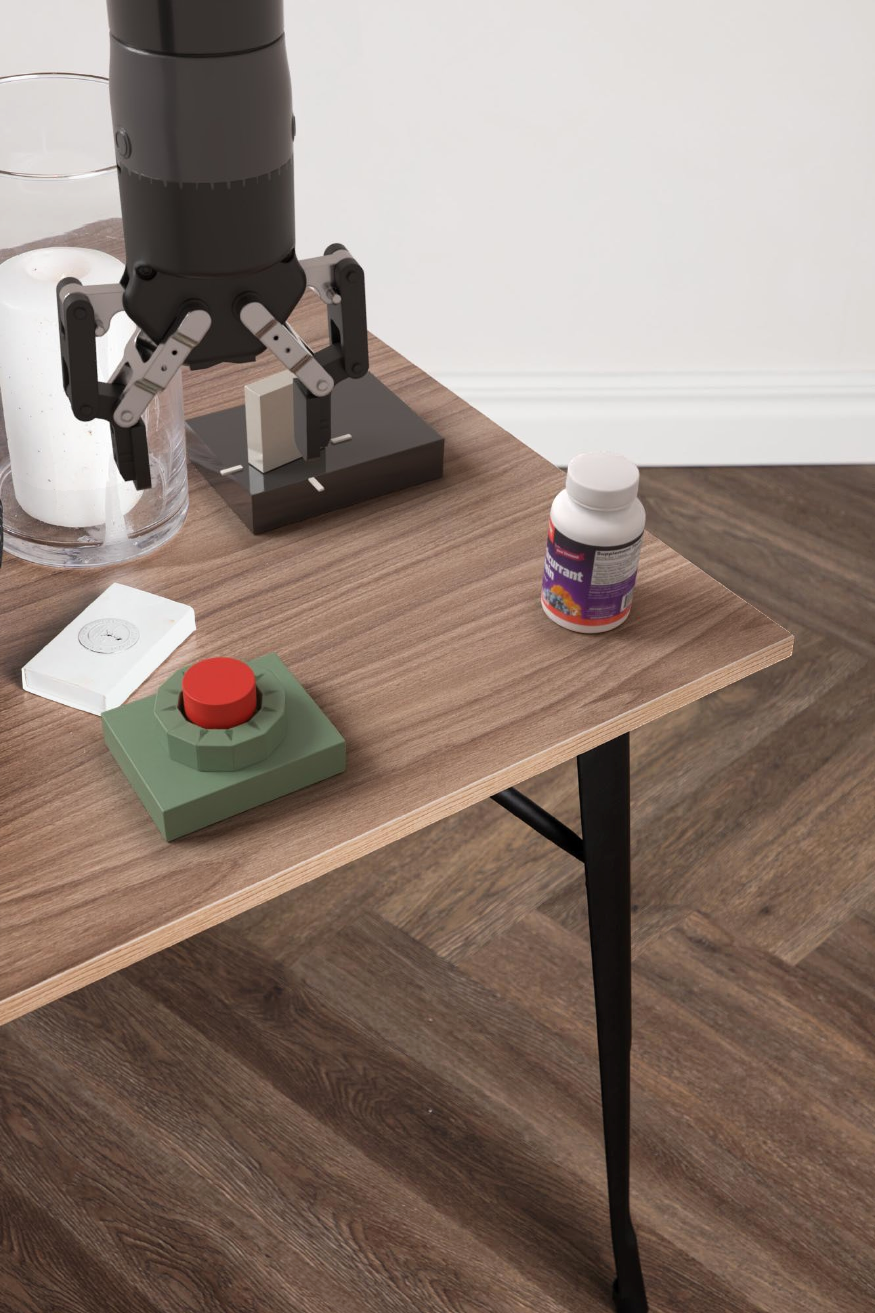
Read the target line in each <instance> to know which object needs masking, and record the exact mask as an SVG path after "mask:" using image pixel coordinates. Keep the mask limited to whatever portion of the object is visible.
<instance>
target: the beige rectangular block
mask: <svg viewBox="0 0 875 1313" xmlns="http://www.w3.org/2000/svg"><path fill="white" fill-rule="evenodd" d="M293 378H297V377H296V376H295V374H294V373H291V372H290V371H289V370H288V369H287V368H286V369H284V370H282V371H279V372H276V373H275V374H271V375H269V376H267V377H264V378H261V379H258V380H256V381H253V382H251V383H248V384H246V385H244V387H243V388H244V404H245V408H246V426H247V444H248V462H249V463H250V464H251V465H253V466H254V467H256V468H257V469H258V470H260V471H261V472H263V473H265V472H267V471H270V470H272V469H274V468H277V467H279V466H281V465H284V464H286V463H288V462H291V461H293V460H295V459H298V458H300V457H302V455H301V453H300V451H299V450H298V448H297V446H296V443H295V439H294V411H293ZM322 448H323V447H322ZM320 449H321V448H320Z"/></svg>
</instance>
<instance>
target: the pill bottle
mask: <svg viewBox="0 0 875 1313" xmlns="http://www.w3.org/2000/svg"><path fill="white" fill-rule="evenodd" d="M640 475H641V474H640V470H639V467H638V466H637V465H636V464H635V463H634V461H633V460H631V459H629V458H628V457H626V456H624V455H622V454H619V453H615V452H611V451H602V450H594V451H588V452H583V453H581V454H579V455H576V456H575V457H574V458H572V459H571V461H569V463H568V465H567V471H566V479H565V488H563V490H561V491H559V493H558V494H557V495H556V496H555V498H554V500H553V501H552V504H551V507H550V513H549V521H548V523H549V524H548V530H547V540H546V548H545V556H544V565H543V572H542V573H543V574H542V582H541V590H540V603H541V606H542V609H543V611H544V613H545V614H546V616H547V617H548V618H549V619H550V620H551V621H552V622H554V623H555V624H556V625H558V626H560V627H561V628H564V629H566V630H569V631H573V632H576V633H581V634H582V633H583V634H598V633H604V632H608V631H611V630H613V629H615V628H616V629H617V627H619V626H621V625H622V624H623V623H624V622H625V621H626V619H627V618H628V616H629V615H630V612H631V608H632V603H633V598H634V592H635V588H636V581H637V575H638V569H639V564H640V558H641V551H642V546H643V540H644V539H643V538H644V534H645V527H646V517H647V515H646V510H645V507H644V505H643V503H642V502H641V500H640V499H639V498H638V492H639V484H640Z"/></svg>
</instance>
